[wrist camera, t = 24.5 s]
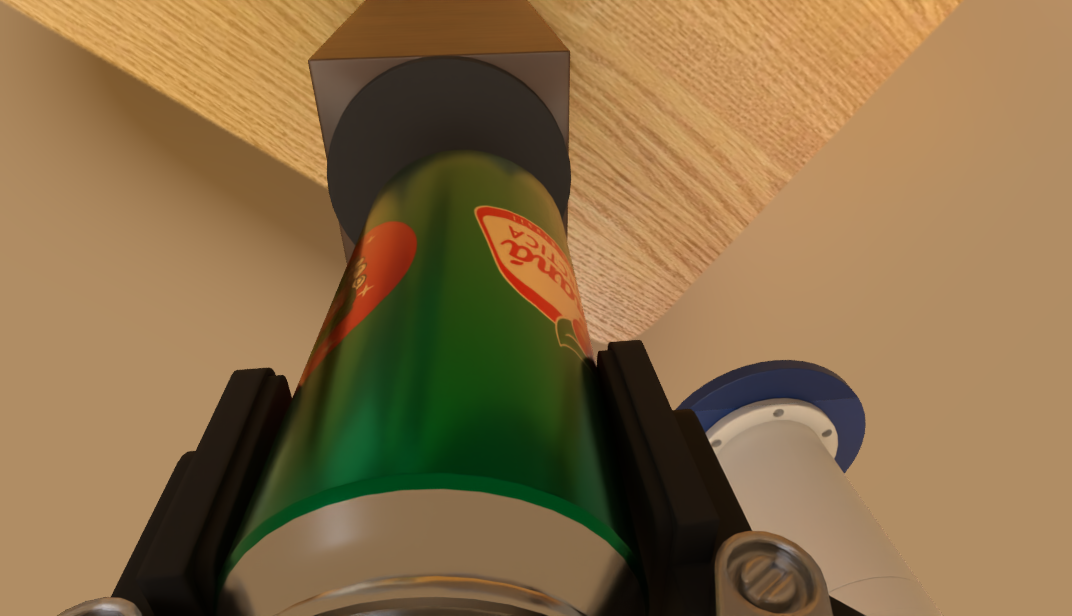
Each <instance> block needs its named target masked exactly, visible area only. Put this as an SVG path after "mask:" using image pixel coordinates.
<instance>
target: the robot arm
mask: <svg viewBox="0 0 1072 616" xmlns="http://www.w3.org/2000/svg"><path fill="white" fill-rule="evenodd" d="M597 370H598V375H599V379H600V383H601V387H602V392H603V396H604V400H605V404H606V409H607V413H608V417H609V421H610V426H611V430H612V434H613V438H614V443H615V447H616V451H617V455H618V460H619V464H620V468H621V472H622V477H623V481H624V485H625V489H626V494H627V498H628V502H629V506H630V511H631V515H632V519H633V523H634V528H635V532H636V536H637V540H638V544H639V549H640V553H641V557H642V561H643V566H644V570H645V574H646V578H647V583H648V589H649V603H650V609H649V615H648V616H943V615H942V613H941V612H940V611H939V609H938V608H937V606H936V605H935V603H934V602H933V601H932V599H931V598H930V596H929V595H928V593H927V592H926V591H925V589H924V588H923V586H922V585H921V583H920V582H919V581H918V579H917V578H916V576H915V575H914V573H913V572H912V571H911V569H910V568H909V566H908V565H907V563H906V562H905V560H904V559H903V557H902V556H901V555H900V553H899V552H898V550H897V549H896V548H895V546H894V545H893V543H892V542H891V540H890V539H889V538H888V536H887V535H886V533H885V532H884V530H883V529H882V527H881V526H880V524H879V523H878V522H877V520H876V519H875V517H874V516H873V514H872V513H871V512H870V510H869V509H868V507H867V506H866V505H865V503H864V501H863V500H862V499H861V497H860V496H859V494H858V493H857V491H856V490H855V489H854V487H853V486H852V484H851V483H850V481H849V480H848V479H847V477H846V476H845V474H844V473H843V471H842V470H841V468H840V467H839V466H838V464H837V463H836V461H835V460H834V458H835V456H836V453H837V448H838V435H837V432H836V429H835V427H834V425H833V424H832V422H831V421H830V419H829V418H828V416H827V415H826V414H825V413H824V412H823V411H822V410H821V409H820V408H818V407H816V406H815V405H813V404H811V403H809V402H805V401H802V400H799V399H791V398H775V399H768V400H762V401H757V402H754V403H751V404H748V405H746V406H743V407H741V408H739V409H737V410H735V411H733V412H731V413H729V414H728V415H726V416H725V417H723V418H722V419H720V420H719V421H717V422H716V423H715V424H714V425H713V426H712V427H711V428H710V429H709V430H708V431H707V432H706V433H705V431H704V429H703V427H702V425H701V423H700V421H699V419H698V417H697V416H696V414H695V412H694V411H692V410H691V409H683V410H672V409H671V407H670V405H669V402H668V400H667V398H666V396H665V393H664V391H663V388H662V386H661V384H660V382H659V379H658V377H657V375H656V372H655V370H654V368H653V366H652V364H651V361H650V359H649V357H648V354H647V352H646V350H645V348H644V345H643V343H642V341H640V340H631V341H618V342H610V343H609V344H608V350H605V351H599V352H598V356H597ZM291 400H292V397H291V393H290V390H289V386H288V382H287V379H286V377H285V376H284V375H278V376H276V375H275V372H274V371H273V370H272V369H271V368H258V369H245V370H236V371H234V373H233V374H232V376H231V378H230V380H229V382H228V384H227V386H226V388H225V390H224V392H223V394H222V397H221V399H220V401H219V403H218V405H217V407H216V409H215V411H214V413H213V416H212V418H211V420H210V422H209V424H208V426H207V428H206V430H205V432H204V435H203V437H202V439H201V441H200V443H199V445H198V447H197V450H196V451H190V452H187V453H185V454H184V455H183V456H182V457H181V459H180V460H179V461H178V463H177V465H176V467H175V469H174V471H173V473H172V475H171V477H170V479H169V481H168V483H167V485H166V487H165V489H164V491H163V493H162V495H161V497H160V499H159V501H158V503H157V505H156V507H155V509H154V511H153V513H152V515H151V517H150V519H149V521H148V523H147V525H146V527H145V529H144V531H143V533H142V535H141V537H140V539H139V541H138V544H137V545H136V547H135V549H134V551H133V553H132V555H131V558H130V559H129V561H128V564H127V566H126V567H125V569H124V571H123V574H122V575H121V577H120V580H119V581H118V584H117V586H116V588H115V589H114V592H113V594H112V596H111V597H103V598H98V599H94V600H90V601H85V602H83V603H81V604H78V605H76V606H74V607H72V608H69V609H67V610H65V611H63V612H62V613H60V614H59V615H57V616H214V611H213V600H214V594H215V587H216V582H217V579H218V577H219V574H220V572H221V570H222V567H223V565H224V562H225V560H226V557H227V555H228V553H229V550H230V548H231V545H232V543H233V541H234V538H235V536H236V533H237V531H238V528H239V526H240V524H241V521H242V519H243V516H244V514H245V512H246V509H247V507H248V504H249V502H250V499H251V497H252V495H253V492H254V490H255V487H256V485H257V483H258V480H259V478H260V475H261V473H262V470H263V468H264V466H265V463H266V461H267V458H268V456H269V453H270V451H271V449H272V446H273V444H274V441H275V439H276V437H277V434H278V432H279V429H280V427H281V424H282V422H283V420H284V417H285V415H286V412H287V410H288V408H289V405H290V403H291Z"/></svg>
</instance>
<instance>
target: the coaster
mask: <svg viewBox="0 0 1072 616" xmlns="http://www.w3.org/2000/svg"><path fill="white" fill-rule="evenodd" d="M450 150H475V151H481V152H488V153H491V154H494V155H497V156H500V157H504V158H506V159H508V160H510V161H512V162H514V163H516V164H518V165H519V166H521V167H522V168H524V169H525V170H526V171H528V172H529V173H531V174H532V175H533V176H534V177H535V178H536V179H537V180H538V181H539V182H540V183H541V184H542V185H543V186H544V187H545V189H546V190H547V191H548V193H549V194H550V195H551V197H552V198H553V200H554V202H555V204H556V206H557V208H558V210H559V213H560V216H561V219H563V217H564V214H565V211H566V208H567V204H568V200H569V195H570V185H571V169H570V160H569V155H568V150H567V147H566V144H565V141H564V138H563V135H562V133H561V131H560V129H559V127H558V125H557V122H556V120H555V118H554V116H553V115H552V113H551V112H550V110H549V109H548V108H547V106H546V105H545V103H544V102H543V101H542V100H541V99H540V98H539V96H538V95H537V94H536V93H535V92H534V91H533V90H532V89H531V88H530V87H528V86H527V85H526V84H525V83H524V82H523V81H521V80H520V79H518V78H517V77H515V76H514V75H512V74H511V73H509V72H507V71H505V70H503V69H501V68H499V67H497V66H495V65H493V64H490V63H487V62H484V61H481V60H477V59H473V58H467V57H462V56H445V55H440V56H430V57H423V58H419V59H415V60H410V61H407V62H404V63H402V64H399V65H397V66H394V67H392V68H390V69H388V70H387V71H385V72H383V73H382V74H380V75H378V76H377V77H375V78H374V79H373V80H372V81H370V82H369V83H368V84H367V85H365V86H364V87H363V88H362V89H361V90H360V91H359V93H358V94H357V95H356V96H355V97H354V98H353V99H352V101H351V102H350V103H349V105H348V106H347V108H346V109H345V111H344V112H343V114H342V116H341V118H340V120H339V122H338V124H337V126H336V128H335V130H334V134H333V137H332V140H331V143H330V147H329V153H328V159H327V181H328V189H329V194H330V198H331V202H332V206H333V208H334V211H335V213H336V216H337V218H338V220H339V222H340V224H341V226H342V227H343V229H344V231H345V233H346V234H347V236H348V237H349V238H350V239H351V241H352V242H353V243H354V245H355V246H356V243H357V241H358V238H359V236H360V233H361V231H362V229H363V226H364V224H365V221H366V219H367V217H368V214H369V212H370V209H371V207H372V205H373V202H374V200H375V198H376V196H377V195H378V193H379V192H380V190H381V189H382V187H383V186H384V185H385V184H386V183H387V182H388V181H389V180H390V178H391V177H392V176H393V175H394V174H396V173H397V172H398V171H400V170H401V169H402V168H404V167H405V166H406V165H408V164H410V163H412V162H414V161H416V160H418V159H420V158H422V157H425V156H428V155H431V154H434V153H437V152H444V151H450Z"/></svg>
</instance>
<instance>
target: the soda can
mask: <svg viewBox="0 0 1072 616" xmlns="http://www.w3.org/2000/svg"><path fill="white" fill-rule="evenodd" d="M649 609H650V603H649V589H648V583H647V578H646V574H645V570H644V566H643V561H642V557H641V553H640V549H639V544H638V540H637V536H636V532H635V528H634V523H633V519H632V515H631V511H630V506H629V502H628V498H627V494H626V489H625V485H624V481H623V477H622V472H621V468H620V464H619V460H618V455H617V451H616V447H615V443H614V438H613V434H612V430H611V426H610V421H609V417H608V413H607V409H606V404H605V400H604V396H603V392H602V387H601V383H600V379H599V375H598V370H597V366H596V362H595V358H594V354H593V349H592V345H591V341H590V337H589V332H588V328H587V324H586V320H585V315H584V311H583V307H582V303H581V298H580V294H579V290H578V286H577V281H576V277H575V273H574V269H573V264H572V260H571V256H570V252H569V247H568V243H567V239H566V235H565V230H564V226H563V223H562V219H561V216H560V213H559V210H558V208H557V206H556V204H555V202H554V200H553V198H552V197H551V195H550V194H549V193H548V191H547V190H546V189H545V187H544V186H543V185H542V184H541V183H540V182H539V181H538V180H537V179H536V178H535V177H534V176H533V175H532V174H531V173H529V172H528V171H526V170H525V169H524V168H522V167H521V166H519V165H518V164H516V163H514V162H512V161H510V160H508V159H506V158H504V157H500V156H497V155H494V154H491V153H488V152H481V151H475V150H450V151H444V152H437V153H434V154H431V155H428V156H425V157H422V158H420V159H418V160H416V161H414V162H412V163H410V164H408V165H406V166H405V167H404V168H402V169H401V170H400V171H398V172H397V173H396V174H394V175H393V176H392V177H391V178H390V180H389V181H388V182H387V183H386V184H385V185H384V186H383V187H382V189H381V190H380V192H379V193H378V195H377V196H376V198H375V200H374V202H373V205H372V207H371V209H370V212H369V214H368V217H367V219H366V221H365V224H364V226H363V229H362V231H361V233H360V236H359V238H358V241H357V243H356V246H355V248H354V250H353V253H352V255H351V258H350V260H349V262H348V265H347V267H346V270H345V272H344V275H343V277H342V279H341V282H340V284H339V287H338V289H337V291H336V294H335V297H334V299H333V301H332V304H331V306H330V309H329V311H328V313H327V316H326V318H325V321H324V323H323V326H322V328H321V330H320V333H319V335H318V337H317V340H316V342H315V345H314V347H313V350H312V352H311V354H310V357H309V359H308V362H307V364H306V367H305V369H304V371H303V374H302V376H301V379H300V381H299V383H298V386H297V388H296V391H295V393H294V395H293V398H292V400H291V403H290V405H289V408H288V410H287V412H286V415H285V417H284V420H283V422H282V424H281V427H280V429H279V432H278V434H277V437H276V439H275V441H274V444H273V446H272V449H271V451H270V453H269V456H268V458H267V461H266V463H265V466H264V468H263V470H262V473H261V475H260V478H259V480H258V483H257V485H256V487H255V490H254V492H253V495H252V497H251V499H250V502H249V504H248V507H247V509H246V512H245V514H244V516H243V519H242V521H241V524H240V526H239V528H238V531H237V533H236V536H235V538H234V541H233V543H232V545H231V548H230V550H229V553H228V555H227V557H226V560H225V562H224V565H223V567H222V570H221V572H220V574H219V577H218V579H217V582H216V587H215V594H214V600H213V611H214V616H648V615H649Z"/></svg>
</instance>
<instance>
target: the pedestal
mask: <svg viewBox="0 0 1072 616" xmlns="http://www.w3.org/2000/svg"><path fill="white" fill-rule="evenodd" d="M440 55H445V56H462V57H467V58H473V59H477V60H481V61H484V62H487V63H490V64H493V65H495V66H497V67H499V68H501V69H503V70H505V71H507V72H509V73H511V74H512V75H514V76H515V77H517V78H518V79H520V80H521V81H523V82H524V83H525V84H526V85H527V86H528V87H530V88H531V89H532V90H533V91H534V92H535V93H536V94H537V95H538V96H539V98H540V99H541V100H542V101H543V102H544V103H545V105H546V106H547V108H548V109H549V110H550V112H551V113H552V115H553V116H554V118H555V120H556V122H557V125H558V127H559V129H560V131H561V133H562V135H563V138H564V141H565V144H566V147H567V150H568V155H569V89H570V51H569V50H568V49H567V47H566V46H565V45H564V44H563V43H562V41H561V40H560V39H559V38H558V37H557V35H556V34H555V33H554V32H553V31H552V29H551V28H550V27H549V26H548V25H547V23H546V22H545V21H544V20H543V19H542V17H541V16H540V15H539V14H538V13H537V11H536V10H535V9H534V8H533V7H532V5H531V4H530V3H529V2H528V1H527V0H365V1H364V2H363V3H362V4H361V5H360V6H359V8H358V9H357V10H356V11H355V12H354V13H353V14H352V15H351V16H350V17H349V18H348V19H347V20H346V21H345V22H344V23H343V24H342V25H341V26H340V27H339V28H338V29H337V31H336V32H335V33H334V34H333V35H332V36H331V37H330V38H329V39H328V40H327V41H326V42H325V43H324V44H323V45H322V46H321V47H320V48H319V49H318V50H317V51H316V52H315V54H314V55H313V56H312V57H311V58H310V59H309V60H308V64H309V69H310V74H311V79H312V85H313V90H314V95H315V100H316V105H317V111H318V116H319V121H320V126H321V132H322V137H323V142H324V147H325V152H326V158H327V159H328V153H329V147H330V143H331V140H332V137H333V134H334V130H335V128H336V126H337V124H338V122H339V120H340V118H341V116H342V114H343V112H344V111H345V109H346V108H347V106H348V105H349V103H350V102H351V101H352V99H353V98H354V97H355V96H356V95H357V94H358V93H359V91H360V90H361V89H362V88H363V87H364V86H365V85H367V84H368V83H369V82H370V81H372V80H373V79H374V78H375V77H377V76H378V75H380V74H382V73H383V72H385V71H387V70H388V69H390V68H392V67H394V66H397V65H399V64H402V63H404V62H407V61H410V60H415V59H419V58H423V57H430V56H440ZM562 223H563V226H564V230H565V235H566V239H567V224H568V204H567V208H566V211H565V214H564V217H563V219H562ZM339 225H340V230H341V236H342V241H343V246H344V251H345V257H346V262H347V265H348V262H349V260H350V258H351V255H352V253H353V250H354V248H355V245H354V243H353V242H352V241H351V239H350V238H349V237H348V236H347V234H346V233H345V231H344V229H343V227H342V226H341V224H340V222H339Z"/></svg>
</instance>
